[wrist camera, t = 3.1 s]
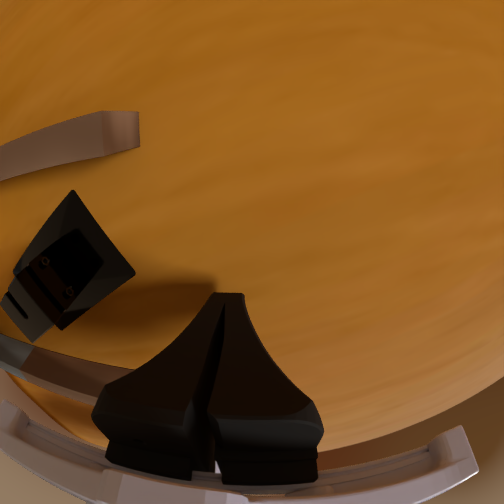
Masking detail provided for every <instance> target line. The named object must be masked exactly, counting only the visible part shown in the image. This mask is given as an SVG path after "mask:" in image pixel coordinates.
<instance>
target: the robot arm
mask: <svg viewBox="0 0 504 504" xmlns="http://www.w3.org/2000/svg"><path fill="white" fill-rule="evenodd" d="M91 418H92V420H93V422H94V424H95V425H96V426H97V427H98V429H99V430H100V431H101V432H102V433H103V434H104V435H105V436H106V437H107V438H108V439H109V440H110V441H109V444H108V447H107V450H106V451H104V450H101V449H98V448H95V447H92V446H89V445H87V444H84V443H81V442H79V441H76V440H74V439H71V438H69V437H67V436H64V435H62V434H60V433H57V432H55V431H53V430H51V429H49V428H47V427H45V426H43V425H41V424H39V423H37V422H35V421H33V420H31V419H30V418H29V417H28V416H27V415H26V413H25V412H24V411H23V410H21V409H20V408H19V407H17V406H16V405H14V404H12V403H11V402H9V401H8V400H6V399H3V401H2V403H1V404H0V450H1V451H2V452H4V453H5V454H6V455H7V456H9V457H10V458H11V459H13V460H14V461H16V462H17V463H18V464H20V465H22V466H23V467H24V468H26V469H27V470H29V471H30V472H32V473H33V474H35V475H37V476H39V477H40V478H42V479H43V480H45V481H47V482H49V483H50V484H52V485H54V486H56V487H58V488H59V489H61V490H63V491H65V492H67V493H69V494H71V495H73V496H75V497H77V498H80V499H82V500H84V501H86V504H420V503H422V502H424V501H427V500H429V499H431V498H433V497H435V496H437V495H439V494H442V493H444V492H445V491H447V490H449V489H451V488H453V487H455V486H456V485H458V484H460V483H462V482H463V481H465V480H467V479H468V478H470V477H471V476H473V475H475V474H476V473H478V471H479V469H478V466H477V463H476V460H475V458H474V455H473V452H472V449H471V447H470V444H469V442H468V439H467V437H466V434H465V432H464V429H463V427H462V425H459V426H457V427H454V428H452V429H450V430H448V431H445V432H443V433H441V434H439V435H437V436H436V437H434V438H433V439H432V440H431V441H430V442H429V443H428V444H427V445H424V446H422V447H419V448H416V449H413V450H410V451H407V452H404V453H401V454H397V455H394V456H390V457H387V458H383V459H379V460H375V461H371V462H367V463H362V464H358V465H353V466H348V467H342V468H336V469H330V470H322V471H318V470H317V463H316V459H317V458H318V453H317V445H318V444H319V442H320V440H321V438H322V437H323V433H324V428H323V424H322V421H321V418H320V415H319V413H318V411H317V408H316V406H315V404H314V402H313V401H312V400H311V399H310V398H309V397H308V396H306V395H305V394H304V393H303V392H302V391H301V390H300V389H299V388H297V387H296V386H295V385H294V384H293V383H292V382H291V381H290V380H289V379H288V377H287V376H286V375H285V374H284V373H283V372H282V370H281V369H280V368H279V367H278V366H277V365H276V363H275V362H274V361H273V359H272V358H271V357H270V355H269V354H268V352H267V351H266V349H265V348H264V346H263V344H262V343H261V341H260V339H259V337H258V335H257V333H256V331H255V329H254V327H253V325H252V322H251V320H250V318H249V315H248V312H247V309H246V305H245V297H244V294H242V293H216V292H214V293H212V294H211V296H210V297H209V299H208V300H207V302H206V303H205V305H204V306H203V308H202V309H201V310H200V312H199V313H198V314H197V315H196V317H195V318H194V319H193V320H192V322H191V323H190V324H189V325H188V326H187V327H186V328H185V330H184V331H183V332H182V333H181V334H180V335H179V336H178V337H177V338H176V339H175V340H174V341H173V342H172V343H171V344H170V345H168V346H167V347H166V348H165V349H164V350H163V351H161V352H160V353H159V354H158V355H156V356H155V357H154V358H152V359H151V360H150V361H148V362H147V363H145V364H144V365H142V366H141V367H139V368H137V369H136V370H134V371H132V372H130V373H129V374H127V375H125V376H123V377H121V378H119V379H116V380H114V381H112V382H110V383H108V384H105V386H104V387H103V389H102V391H101V393H100V395H99V397H98V399H97V402H96V404H95V406H94V409H93V411H92V414H91ZM243 494H285V497H273V496H272V497H271V496H250V495H243Z"/></svg>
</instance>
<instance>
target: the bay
mask: <svg viewBox="0 0 504 504" xmlns="http://www.w3.org/2000/svg"><path fill="white" fill-rule="evenodd" d="M136 147H140V137H139V112H131V111H99V112H95V113H91V114H87V115H84V116H80V117H77V118H73V119H70V120H67V121H64V122H61V123H57V124H55V125H52V126H49V127H46V128H43V129H40V130H38V131H35V132H32V133H30V134H27V135H25V136H23V137H20V138H18V139H15V140H13V141H11V142H9V143H6V144H4V145H2V146H0V181H2V180H5V179H8V178H11V177H15V176H18V175H22V174H25V173H29V172H32V171H36V170H40V169H44V168H48V167H52V166H57V165H61V164H66V163H70V162H75V161H80V160H85V159H91V158H96V157H102V156H106V155H110V154H113V153H117V152H120V151H124V150H128V149H132V148H136ZM0 368H2V369H4V370H5V371H7V372H9V373H11V374H13V375H15V376H17V377H19V378H22V379H24V380H26V381H28V382H30V383H33V384H35V385H37V386H39V387H42V388H44V389H47V390H49V391H52V392H54V393H57V394H60V395H62V396H65V397H68V398H71V399H74V400H77V401H80V402H83V403H86V404H89V405H93V406H95V404H96V402H97V399H98V397H99V395H100V393H101V391H102V389H103V387H104V386H105V384H108V383H110V382H112V381H114V380H116V379H119V378H121V377H123V376H125V375H127V374H129V373H130V372H132V371H134V370H131V369H125V368H119V367H114V366H109V365H104V364H99V363H95V362H90V361H86V360H82V359H78V358H74V357H70V356H66V355H62V354H59V353H55V352H52V351H48V350H45V349H42V348H39V347H36V346H33V345H30V344H27V343H24V342H21V341H18V340H15V339H13V338H10V337H7V336H5V335H2V334H0Z"/></svg>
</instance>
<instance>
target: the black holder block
mask: <svg viewBox="0 0 504 504" xmlns="http://www.w3.org/2000/svg"><path fill="white" fill-rule="evenodd" d="M13 274H14V275H15V278H14V279H13V281H12V283H11V284H10V286H9V288H8V292H7V293H6V294H5V295H4V297H3V299H2V301H1V303H0V305H1V307H2V308H3V309H4V311H5V312H6V313H7V314H8V316H9V317H10V318H11V319H12V321H13V322H14V323H15V324H16V325H17V327H18V328H19V329H20V330H21V331H22V332H23V333H24V335H25V336H26V337H27V338H28V339H29V340H30V341H31V342H32V343H34V342H35V341H36V340H37V339H39V338H40V337H41V336H42V335H43V334H44V333H45V332H47V331H48V330H49V329H50V328H51V327H52V326H53V325H56V326H57V327H58V328H59V329H60V330H63V329H64V328H66V327H67V326H68V325H69V324H71V323H72V322H73V321H75V320H76V319H77V318H78V317H80V316H81V315H82V314H84V313H85V312H86V311H87V310H89V309H90V308H91V307H93V306H94V305H95V304H97V303H98V302H99V301H101V300H102V299H103V298H105V297H106V296H107V295H109V294H110V293H111V292H113V291H114V290H115V289H117V288H118V287H119V286H121V285H122V284H124V283H125V282H126V281H128V280H129V279H130V278H132V277H133V276H135V274H136V272H135V270H134V269H133V268H132V267H131V266H130V264H129V263H128V262H127V261H126V259H125V258H124V257H123V256H122V254H121V253H120V252H119V251H118V249H117V248H116V247H115V246H114V244H113V243H112V242H111V240H110V239H109V238H108V237H107V235H106V234H105V233H104V231H103V230H102V229H101V227H100V226H99V224H98V223H97V222H96V220H95V219H94V218H93V216H92V215H91V213H90V212H89V211H88V209H87V208H86V206H85V205H84V203H83V202H82V201H81V199H80V198H79V196H78V195H77V193H76V192H75V191H74V190H71V191H70V192H69V194H68V195H67V196H66V197H65V198H64V200H63V201H62V202H61V203H60V204H59V206H58V207H57V208H56V209H55V211H54V212H53V213H52V214H51V216H50V217H49V218H48V220H47V221H46V222H45V224H44V225H43V226H42V228H41V229H40V230H39V232H38V233H37V235H36V236H35V237H34V239H33V240H32V242H31V243H30V245H29V246H28V248H27V249H26V251H25V252H24V254H23V255H22V257H21V258H20V260H19V262H18V263H17V265H16V266H15V268H14V270H13Z"/></svg>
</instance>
